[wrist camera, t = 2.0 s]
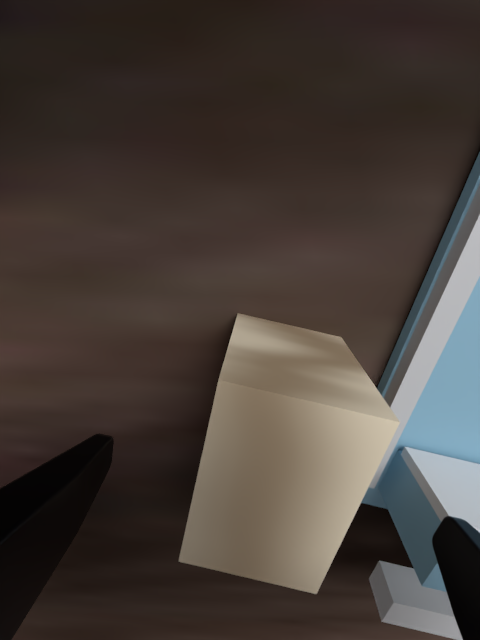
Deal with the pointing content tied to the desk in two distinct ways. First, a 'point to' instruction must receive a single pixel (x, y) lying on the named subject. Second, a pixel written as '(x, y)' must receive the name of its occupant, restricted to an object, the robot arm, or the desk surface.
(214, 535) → the beech block
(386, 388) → the vise base
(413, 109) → the desk surface
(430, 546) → the sliding jaw
